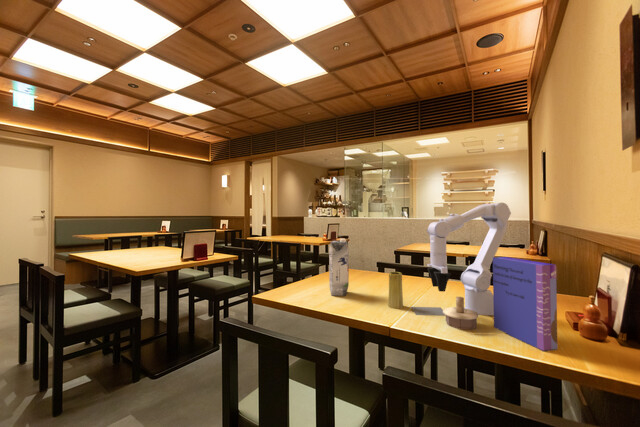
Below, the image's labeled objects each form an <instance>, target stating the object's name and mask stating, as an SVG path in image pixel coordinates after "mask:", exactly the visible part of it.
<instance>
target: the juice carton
mask: <svg viewBox="0 0 640 427" xmlns="http://www.w3.org/2000/svg"><path fill="white" fill-rule="evenodd" d="M329 243H330V244H329V251H328V252H329V257H328V258H329V259H328V260H329V261H328V262H329V265H328V266H329V267H328V269H329V270H328V272H329V277H328V279H329V292H330V295H331V296H335V297H337V296H340V297H346V296H347V293H348V289H349V286H350V285H349V283H350V282H349V277H350V276H349V274H350V273H349V271H350V270H349V268H350V267H349V266H350V265H349V244H348V240H347V239H345V238H340V239H339V240H332V241H331V242H329Z"/></svg>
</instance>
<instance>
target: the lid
mask: <svg viewBox="0 0 640 427" xmlns="http://www.w3.org/2000/svg"><path fill="white" fill-rule="evenodd" d="M442 309H443V313H444V314H445V315H447V316H449V317H452V318H457V319H466V320H470V319H476V318H477V319H478V318H479V315H478V313H477V312H475V311H473V310H469V309H465V297H462V296H456V297H455V306H454V307H453V306H449V307H444V308H442Z"/></svg>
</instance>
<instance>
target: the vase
mask: <svg viewBox="0 0 640 427" xmlns="http://www.w3.org/2000/svg"><path fill="white" fill-rule="evenodd" d="M403 296H404V295H403V273H402V272H399V271H389V272H388V304H387V306H388V308H390V309H394V310H399V309H400V310H401V309H403V308H404V297H403Z"/></svg>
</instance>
